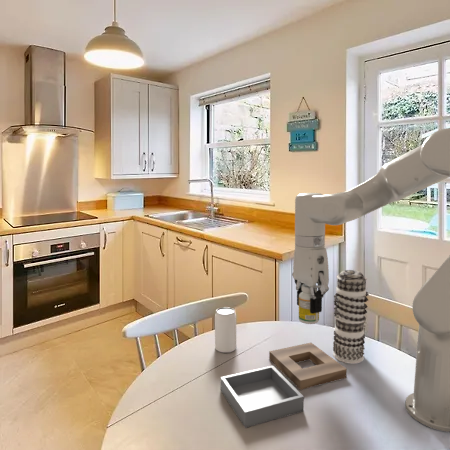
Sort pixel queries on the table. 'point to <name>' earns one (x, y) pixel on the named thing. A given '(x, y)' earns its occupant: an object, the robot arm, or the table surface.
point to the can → (225, 330)
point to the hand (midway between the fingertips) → (309, 307)
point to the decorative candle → (350, 316)
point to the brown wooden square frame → (308, 376)
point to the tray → (261, 395)
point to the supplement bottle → (306, 306)
